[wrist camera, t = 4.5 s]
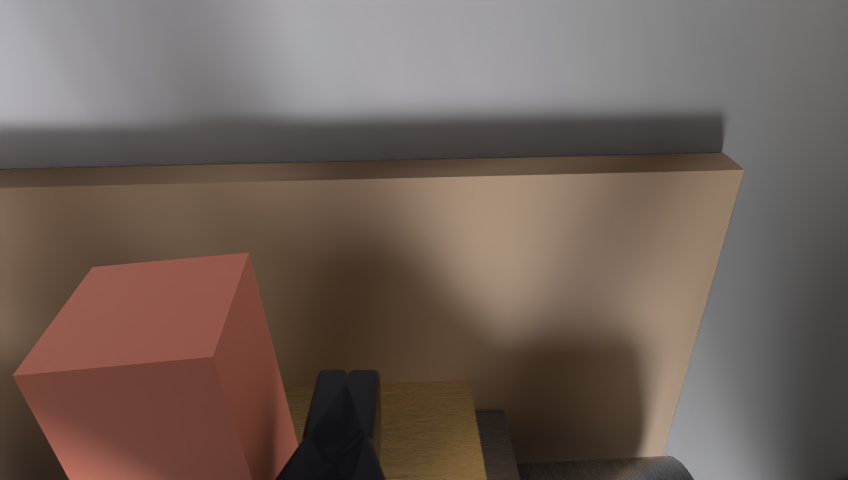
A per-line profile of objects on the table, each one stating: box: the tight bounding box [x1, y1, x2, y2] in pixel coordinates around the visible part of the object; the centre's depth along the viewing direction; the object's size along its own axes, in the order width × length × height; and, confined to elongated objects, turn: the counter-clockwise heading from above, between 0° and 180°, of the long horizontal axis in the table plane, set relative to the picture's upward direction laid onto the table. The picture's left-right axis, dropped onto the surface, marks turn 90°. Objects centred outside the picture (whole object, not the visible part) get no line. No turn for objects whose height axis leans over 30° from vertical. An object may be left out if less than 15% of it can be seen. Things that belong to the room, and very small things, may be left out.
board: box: [0, 153, 744, 480], centre depth 18 cm, size 20×17×1 cm
